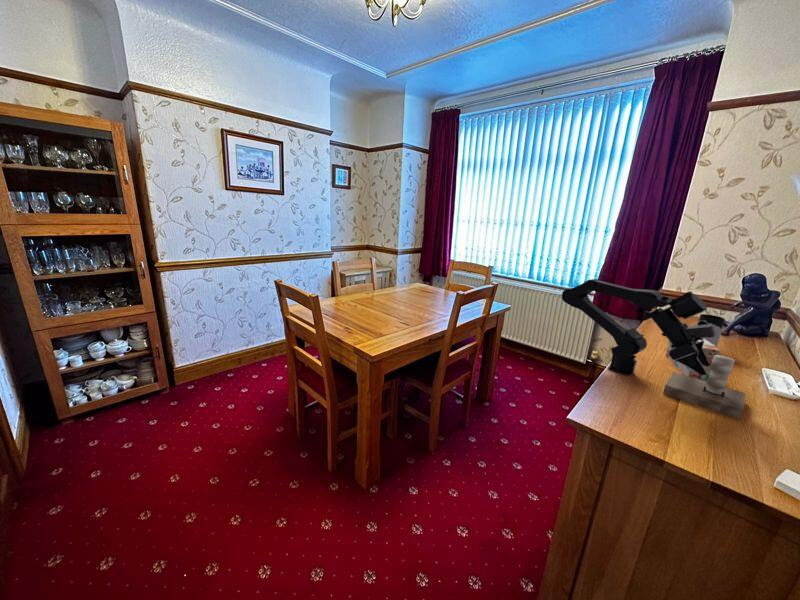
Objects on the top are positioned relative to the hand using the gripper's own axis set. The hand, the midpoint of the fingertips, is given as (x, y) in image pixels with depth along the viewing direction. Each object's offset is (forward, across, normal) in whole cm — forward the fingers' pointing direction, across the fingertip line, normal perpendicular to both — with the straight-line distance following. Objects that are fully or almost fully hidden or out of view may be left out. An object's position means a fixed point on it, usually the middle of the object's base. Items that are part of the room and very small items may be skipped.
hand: (706, 370), depth 98 cm
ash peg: (+8, 0, +4) cm, 9 cm away
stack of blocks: (+2, +24, +11) cm, 26 cm away
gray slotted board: (+7, 0, +6) cm, 9 cm away
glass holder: (+3, +56, +10) cm, 57 cm away
